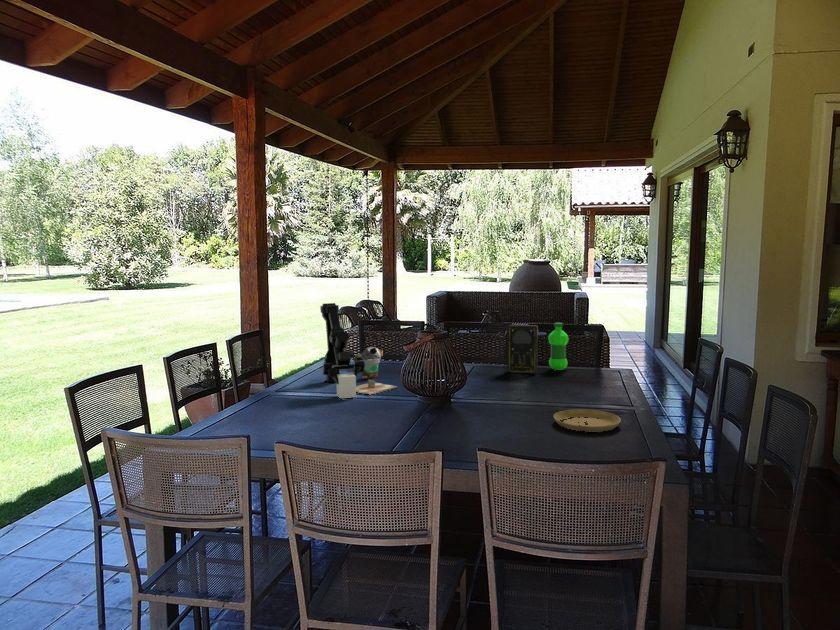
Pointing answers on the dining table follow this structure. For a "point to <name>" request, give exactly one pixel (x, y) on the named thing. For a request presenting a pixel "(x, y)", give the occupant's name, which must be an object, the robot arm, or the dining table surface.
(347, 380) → the block
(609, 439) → the dining table surface
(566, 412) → the plant saucer
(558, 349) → the plastic bottle
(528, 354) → the voltmeter
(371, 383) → the header board
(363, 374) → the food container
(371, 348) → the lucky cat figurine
